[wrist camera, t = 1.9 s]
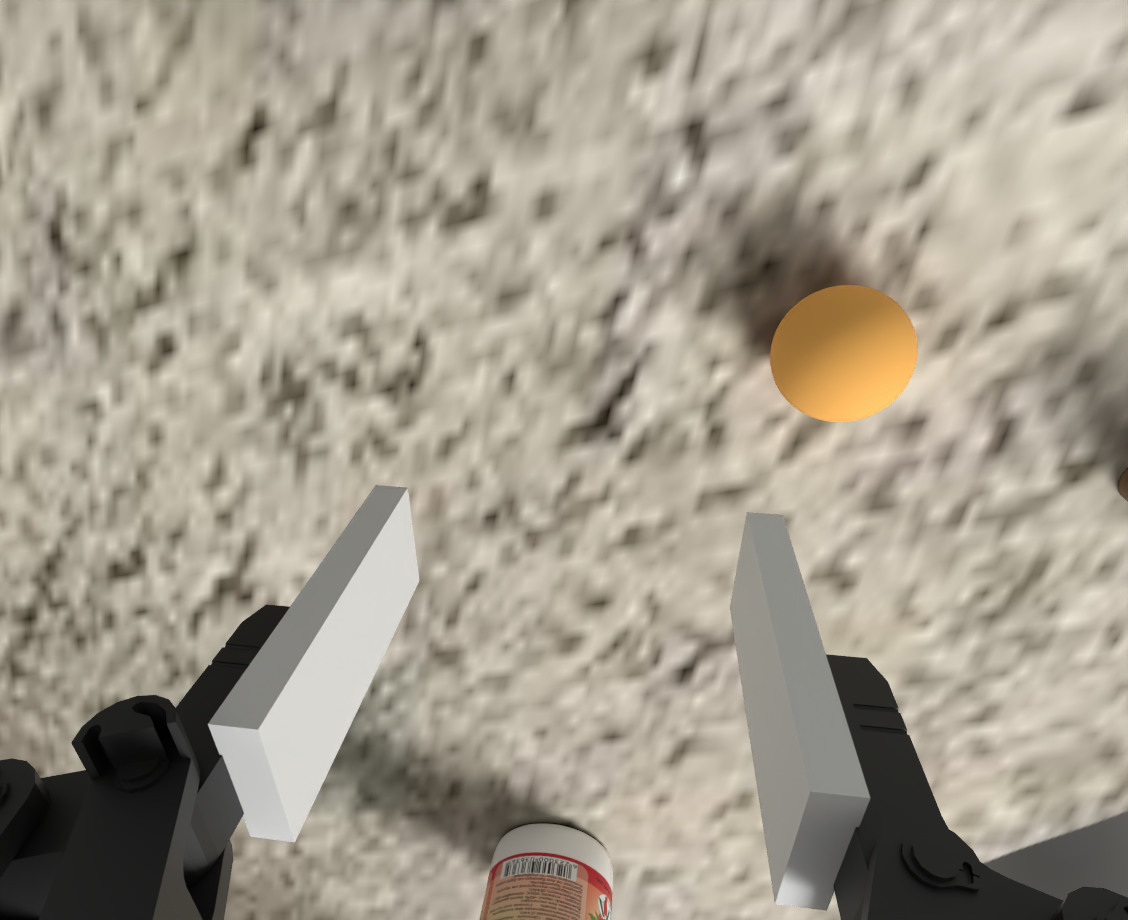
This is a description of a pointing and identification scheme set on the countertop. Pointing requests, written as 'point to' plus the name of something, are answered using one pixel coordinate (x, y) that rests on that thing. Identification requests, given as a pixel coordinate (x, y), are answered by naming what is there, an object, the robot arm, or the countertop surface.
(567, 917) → the fruit juice
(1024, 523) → the countertop surface
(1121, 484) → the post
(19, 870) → the robot arm
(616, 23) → the countertop surface
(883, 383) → the ball
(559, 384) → the countertop surface
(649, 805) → the countertop surface
